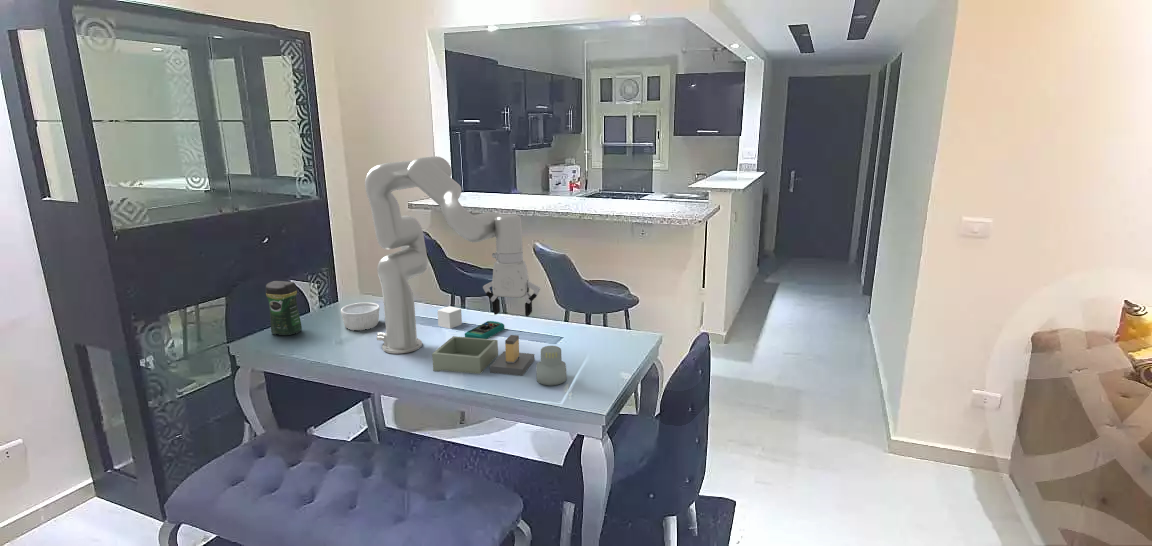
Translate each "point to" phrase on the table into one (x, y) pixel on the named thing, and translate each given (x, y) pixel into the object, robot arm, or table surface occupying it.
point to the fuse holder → (512, 364)
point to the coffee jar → (283, 307)
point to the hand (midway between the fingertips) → (512, 314)
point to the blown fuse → (512, 348)
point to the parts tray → (465, 355)
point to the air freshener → (551, 367)
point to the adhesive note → (449, 317)
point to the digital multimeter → (485, 330)
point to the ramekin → (360, 316)
